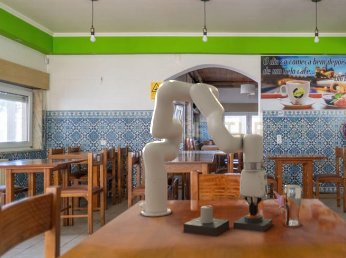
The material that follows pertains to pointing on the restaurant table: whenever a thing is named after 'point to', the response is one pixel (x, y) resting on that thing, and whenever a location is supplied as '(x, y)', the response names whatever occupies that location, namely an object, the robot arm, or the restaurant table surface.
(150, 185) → the robot arm
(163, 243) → the restaurant table surface
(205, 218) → the timer knob
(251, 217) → the power button
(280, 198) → the lily
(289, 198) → the beer glass
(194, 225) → the panel
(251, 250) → the restaurant table surface
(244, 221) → the power block
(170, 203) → the restaurant table surface
